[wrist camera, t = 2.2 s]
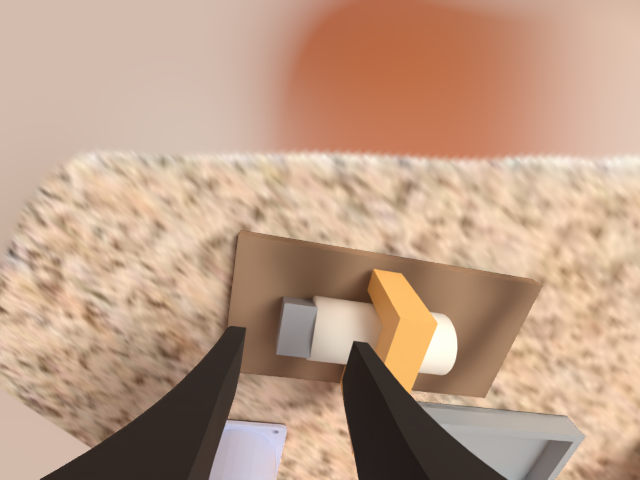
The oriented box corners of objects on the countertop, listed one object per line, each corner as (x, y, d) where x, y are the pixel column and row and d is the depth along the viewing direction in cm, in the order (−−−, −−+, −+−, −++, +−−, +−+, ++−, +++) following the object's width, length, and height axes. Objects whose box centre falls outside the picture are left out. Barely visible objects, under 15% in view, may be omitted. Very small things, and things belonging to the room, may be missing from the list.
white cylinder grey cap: (274, 345, 21) (274, 366, 17) (284, 288, 21) (286, 295, 17) (421, 362, 22) (453, 385, 18) (428, 309, 22) (460, 320, 19)
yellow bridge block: (340, 381, 23) (352, 455, 18) (373, 268, 20) (400, 318, 14) (365, 384, 23) (384, 457, 18) (401, 273, 20) (437, 323, 15)
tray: (375, 472, 29) (380, 495, 27) (404, 400, 26) (412, 421, 24) (523, 481, 31) (537, 503, 30) (566, 416, 28) (585, 436, 26)
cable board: (225, 361, 23) (221, 370, 22) (241, 230, 20) (238, 235, 19) (478, 388, 26) (484, 397, 25) (532, 279, 23) (542, 285, 22)
